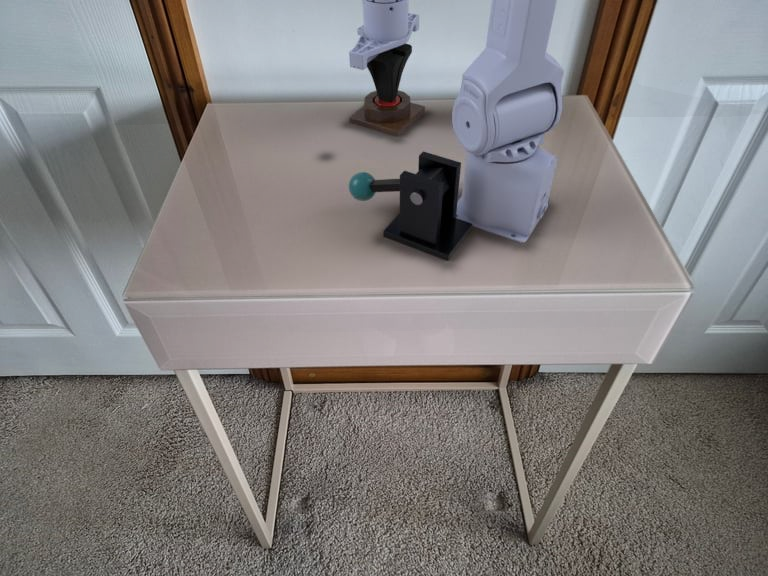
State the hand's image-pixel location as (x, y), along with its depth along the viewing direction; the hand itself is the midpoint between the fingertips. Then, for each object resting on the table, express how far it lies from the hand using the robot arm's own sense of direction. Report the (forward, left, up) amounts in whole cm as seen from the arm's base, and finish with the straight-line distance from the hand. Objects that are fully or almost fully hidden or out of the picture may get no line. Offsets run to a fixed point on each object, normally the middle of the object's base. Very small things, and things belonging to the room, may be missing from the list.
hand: (387, 99), depth 77 cm
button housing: (0, 0, -3) cm, 3 cm away
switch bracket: (-17, +20, -3) cm, 26 cm away
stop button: (0, 0, -2) cm, 2 cm away
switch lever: (-13, +20, +1) cm, 24 cm away
